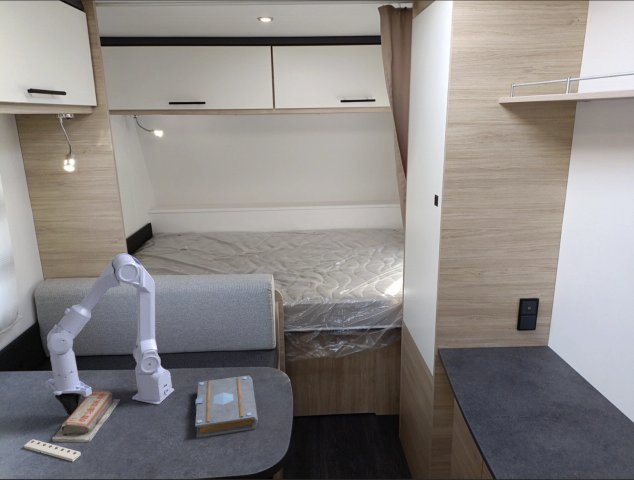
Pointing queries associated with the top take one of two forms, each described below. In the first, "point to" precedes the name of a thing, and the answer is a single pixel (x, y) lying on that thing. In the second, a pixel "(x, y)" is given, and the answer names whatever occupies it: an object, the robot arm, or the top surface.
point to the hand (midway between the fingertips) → (73, 413)
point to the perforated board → (52, 450)
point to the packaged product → (87, 418)
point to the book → (225, 406)
